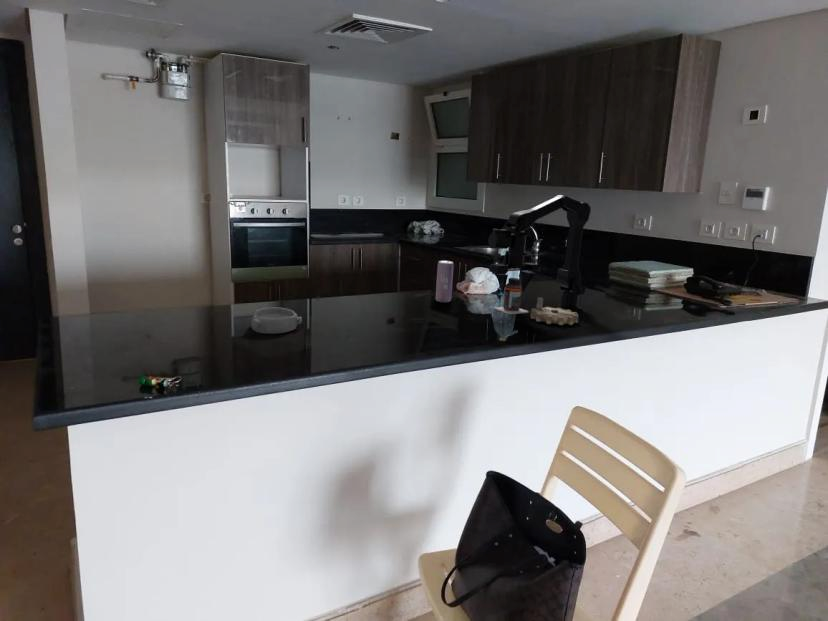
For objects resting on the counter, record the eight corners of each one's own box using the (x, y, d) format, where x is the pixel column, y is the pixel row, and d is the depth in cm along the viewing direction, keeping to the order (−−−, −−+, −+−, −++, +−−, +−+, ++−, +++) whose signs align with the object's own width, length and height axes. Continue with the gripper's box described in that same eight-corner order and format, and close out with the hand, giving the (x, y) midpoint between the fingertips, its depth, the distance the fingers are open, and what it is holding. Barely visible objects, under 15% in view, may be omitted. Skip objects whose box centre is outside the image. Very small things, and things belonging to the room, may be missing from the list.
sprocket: (539, 311, 208) (541, 293, 206) (583, 318, 200) (585, 300, 198) (523, 319, 195) (525, 300, 193) (569, 327, 187) (571, 308, 185)
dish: (255, 337, 159) (255, 319, 158) (244, 324, 171) (244, 308, 170) (305, 333, 166) (305, 316, 165) (292, 321, 178) (292, 305, 177)
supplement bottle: (501, 307, 211) (504, 276, 208) (517, 307, 211) (520, 277, 209) (505, 310, 205) (508, 279, 202) (521, 311, 205) (524, 280, 203)
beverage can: (451, 299, 221) (454, 261, 217) (450, 303, 215) (453, 263, 212) (435, 298, 221) (438, 260, 218) (434, 301, 215) (437, 262, 212)
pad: (512, 307, 214) (513, 305, 214) (528, 312, 206) (528, 311, 206) (493, 308, 210) (493, 307, 210) (508, 314, 202) (508, 313, 202)
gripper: (522, 245, 214) (518, 286, 218) (481, 246, 205) (478, 288, 209) (542, 249, 205) (538, 292, 208) (500, 250, 196) (496, 294, 199)
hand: (512, 291), depth 206 cm, fingers open, 9 cm apart
